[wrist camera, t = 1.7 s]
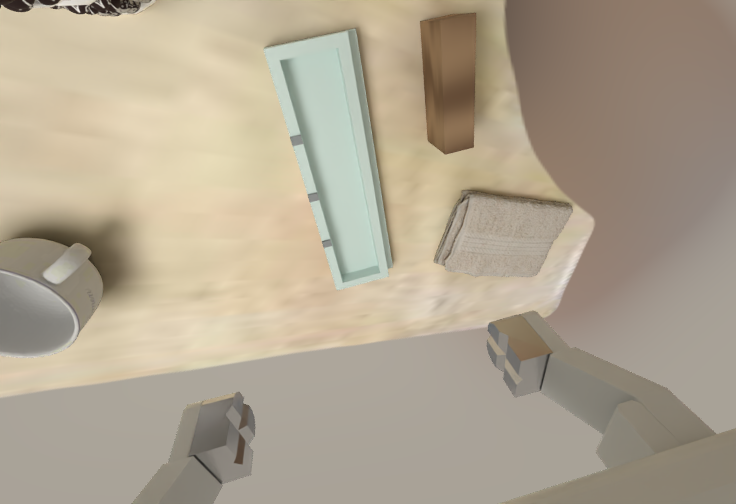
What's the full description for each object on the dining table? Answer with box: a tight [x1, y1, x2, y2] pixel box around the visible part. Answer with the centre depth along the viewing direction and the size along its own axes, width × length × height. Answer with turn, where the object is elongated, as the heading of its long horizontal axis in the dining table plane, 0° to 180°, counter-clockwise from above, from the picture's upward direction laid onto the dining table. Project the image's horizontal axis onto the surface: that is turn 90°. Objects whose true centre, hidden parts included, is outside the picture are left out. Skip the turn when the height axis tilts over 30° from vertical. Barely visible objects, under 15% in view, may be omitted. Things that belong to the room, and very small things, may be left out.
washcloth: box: [434, 190, 573, 277], centre depth 45 cm, size 12×18×3 cm, turn 79°
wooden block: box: [420, 13, 476, 154], centre depth 31 cm, size 11×3×5 cm, turn 10°
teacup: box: [0, 238, 103, 358], centre depth 32 cm, size 14×11×8 cm
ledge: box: [264, 29, 393, 290], centre depth 36 cm, size 27×8×3 cm, turn 10°
